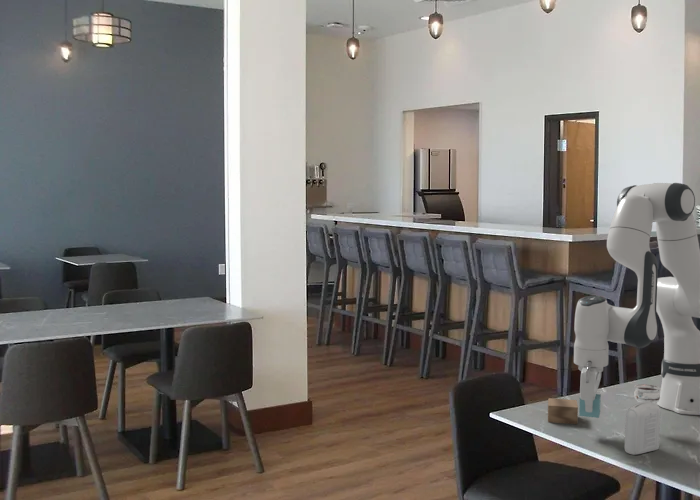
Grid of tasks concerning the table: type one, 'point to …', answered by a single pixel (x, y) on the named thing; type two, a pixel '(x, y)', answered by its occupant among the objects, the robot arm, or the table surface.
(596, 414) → the teal cube
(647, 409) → the white plastic bottle
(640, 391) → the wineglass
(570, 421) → the walnut block
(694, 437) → the table surface
